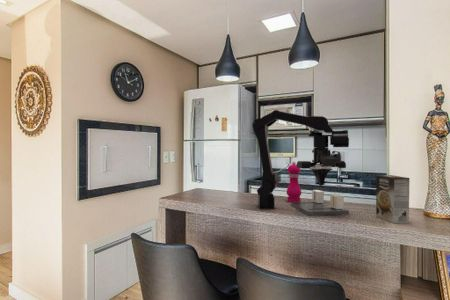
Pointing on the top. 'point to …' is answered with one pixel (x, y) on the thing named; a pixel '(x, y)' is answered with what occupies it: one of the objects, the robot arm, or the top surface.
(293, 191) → the pepper mill
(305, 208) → the mixer panel
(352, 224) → the top surface
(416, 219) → the top surface
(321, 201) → the fader plain
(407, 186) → the coffee box
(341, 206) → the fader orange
